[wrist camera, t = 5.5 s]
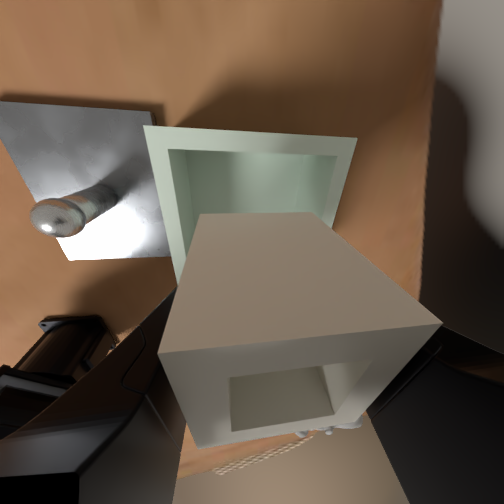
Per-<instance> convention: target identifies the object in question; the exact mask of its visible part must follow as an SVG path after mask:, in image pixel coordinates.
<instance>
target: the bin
mask: <svg viewBox="0 0 504 504" xmlns="http://www.w3.org/2000/svg"><path fill="white" fill-rule="evenodd" d="M143 128H144V132H145V137H146V141H147V146H148V151H149V155H150V160H151V165H152V169H153V174H154V178H155V183H156V188H157V192H158V197H159V202H160V206H161V211H162V215H163V220H164V225H165V229H166V234H167V239H168V243H169V248H170V252H171V257H172V262H173V266H174V271H175V276H176V280H177V285H178V284H179V281H180V278H181V274H182V271H183V268H184V264H185V261H186V258H187V255H188V251H189V248H190V245H191V241H192V238H193V235H194V232H195V228H196V225H197V222H198V219H199V215H200V214H218V213H285V212H312V213H313V214H315V215H316V216H317V217H318V218H319V219H321V220H322V221H323V222H324V223H325V224H326V225H328V226H329V227H330V228H332V225H333V222H334V218H335V215H336V211H337V208H338V204H339V201H340V198H341V194H342V191H343V187H344V184H345V180H346V177H347V173H348V170H349V167H350V163H351V160H352V156H353V153H354V149H355V146H356V142H357V139H358V138H350V137H333V136H316V135H299V134H282V133H265V132H248V131H231V130H214V129H197V128H180V127H163V126H146V125H143Z"/></svg>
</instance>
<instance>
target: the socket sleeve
mask: <svg viewBox="0 0 504 504" xmlns="http://www.w3.org/2000/svg"><path fill="white" fill-rule="evenodd" d="M442 324H443V323H442V322H441V321H440V320H439V319H438V318H437V317H435V316H434V315H433V314H432V313H431V312H429V311H428V310H427V309H426V308H425V307H424V306H422V305H421V304H420V303H419V302H418V301H416V300H415V299H414V298H413V297H412V296H411V295H409V294H408V293H407V292H406V291H405V290H403V289H402V288H401V287H400V286H399V285H398V284H396V283H395V282H394V281H393V280H392V279H390V278H389V277H388V276H387V275H386V274H384V273H383V272H382V271H381V270H380V269H379V268H377V267H376V266H375V265H374V264H373V263H371V262H370V261H369V260H368V259H367V258H366V257H364V256H363V255H362V254H361V253H360V252H358V251H357V250H356V249H355V248H354V247H353V246H351V245H350V244H349V243H348V242H347V241H345V240H344V239H343V238H342V237H341V236H340V235H338V234H337V233H336V232H335V231H334V230H332V229H331V228H330V227H329V226H328V225H326V224H325V223H324V222H323V221H322V220H321V219H319V218H318V217H317V216H316V215H315V214H313V213H312V212H285V213H218V214H200V215H199V219H198V222H197V225H196V228H195V232H194V235H193V238H192V241H191V245H190V248H189V251H188V255H187V258H186V261H185V264H184V268H183V271H182V274H181V278H180V281H179V284H178V287H177V291H176V294H175V297H174V301H173V304H172V307H171V310H170V314H169V317H168V320H167V323H166V327H165V330H164V333H163V337H162V340H161V343H160V346H159V350H158V353H157V354H158V356H159V359H160V361H161V363H162V366H163V368H164V370H165V373H166V375H167V377H168V380H169V382H170V385H171V387H172V389H173V392H174V394H175V396H176V399H177V401H178V403H179V406H180V408H181V411H182V413H183V415H184V418H185V420H186V422H187V425H188V427H189V429H190V432H191V434H192V436H193V439H194V441H195V444H196V446H197V448H198V449H203V448H209V447H214V446H220V445H226V444H232V443H237V442H243V441H249V440H255V439H260V438H266V437H272V436H277V435H283V434H289V433H295V432H300V431H306V430H312V429H317V428H323V427H329V426H335V425H340V424H346V423H352V422H355V421H356V420H357V419H358V418H359V417H360V416H361V415H362V414H363V412H364V411H365V410H366V409H367V408H368V407H369V406H370V405H371V403H372V402H373V401H374V400H375V399H376V398H377V397H378V396H379V394H380V393H381V392H382V391H383V390H384V389H385V388H386V387H387V385H388V384H389V383H390V382H391V381H392V380H393V379H394V378H395V376H396V375H397V374H398V373H399V372H400V371H401V370H402V369H403V367H404V366H405V365H406V364H407V363H408V362H409V361H410V360H411V358H412V357H413V356H414V355H415V354H416V353H417V352H418V351H419V350H420V348H421V347H422V346H423V345H424V344H425V343H426V342H427V341H428V339H429V338H430V337H431V336H432V335H433V334H434V333H435V332H436V330H437V329H438V328H439V327H440V326H441V325H442Z"/></svg>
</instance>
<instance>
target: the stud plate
mask: <svg viewBox="0 0 504 504" xmlns="http://www.w3.org/2000/svg"><path fill="white" fill-rule="evenodd" d="M143 125H146V126H156V121H155V115H154V113H152V112H148V111H133V110H119V109H104V108H90V107H75V106H61V105H46V104H32V103H17V102H3V101H0V139H1V140H2V142H3V144H4V146H5V147H6V149H7V151H8V153H9V155H10V156H11V158H12V160H13V162H14V163H15V165H16V167H17V169H18V171H19V172H20V174H21V176H22V178H23V179H24V181H25V183H26V185H27V186H28V188H29V190H30V192H31V194H32V195H33V197H34V199H35V201H36V202H37V203H36V204H35V205H34V206H33V207H32V208H31V210H30V215H29V217H30V221H31V223H32V225H33V226H34V227H35V228H36V229H37V230H38V231H40V232H41V233H43V234H45V235H47V236H50V237H55V238H57V240H58V241H59V243H60V245H61V247H62V248H63V250H64V252H65V254H66V256H67V257H68V259H69V260H81V259H109V258H137V257H165V256H171V252H170V248H169V243H168V239H167V234H166V229H165V225H164V220H163V215H162V211H161V206H160V202H159V197H158V192H157V188H156V183H155V178H154V174H153V169H152V165H151V160H150V155H149V151H148V146H147V141H146V137H145V132H144V128H143Z"/></svg>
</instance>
